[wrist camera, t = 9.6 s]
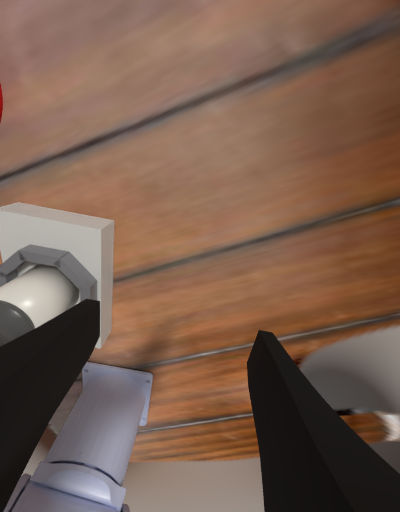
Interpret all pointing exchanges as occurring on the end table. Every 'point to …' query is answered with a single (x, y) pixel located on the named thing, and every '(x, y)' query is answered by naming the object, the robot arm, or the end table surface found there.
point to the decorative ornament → (1, 103)
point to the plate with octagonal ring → (61, 251)
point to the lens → (34, 300)
